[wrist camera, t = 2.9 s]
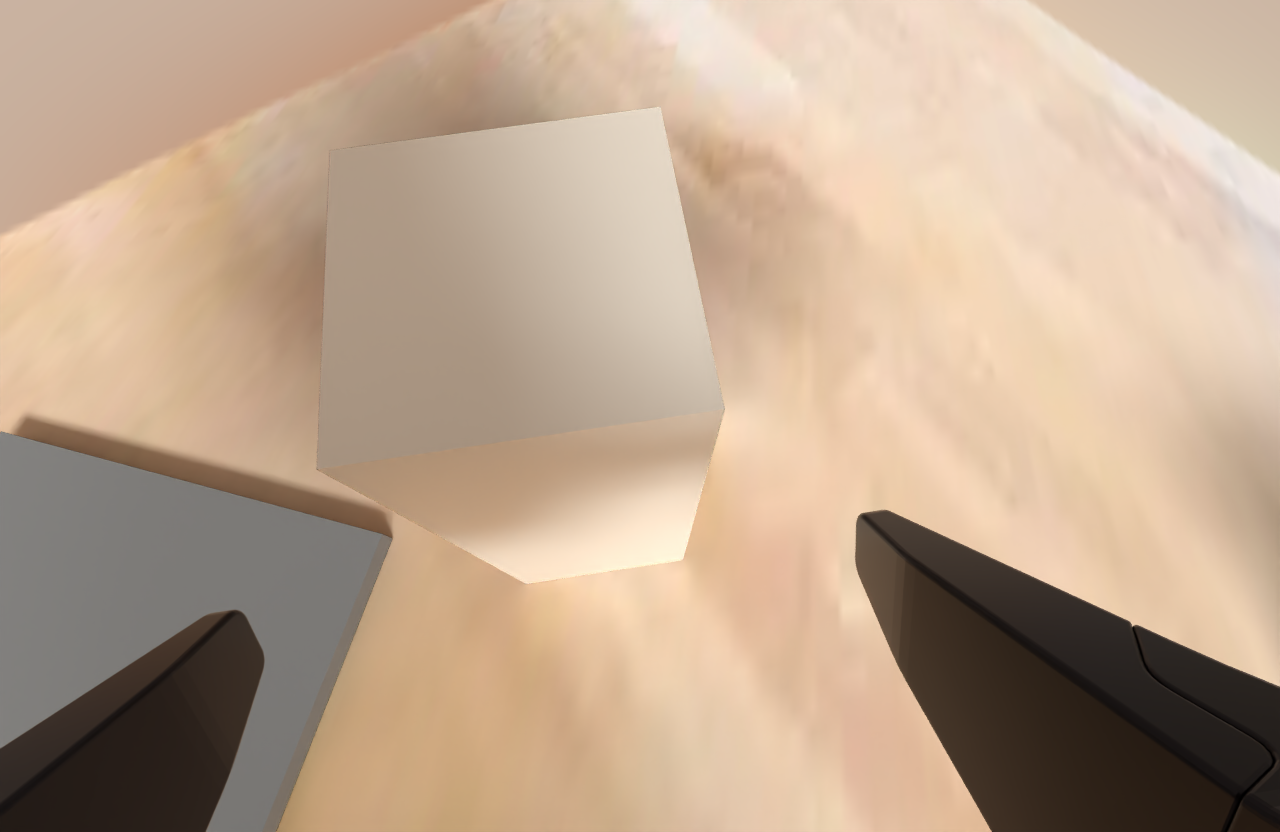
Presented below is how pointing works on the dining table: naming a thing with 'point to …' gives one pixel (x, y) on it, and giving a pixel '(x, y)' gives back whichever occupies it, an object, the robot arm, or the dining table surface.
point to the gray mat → (172, 599)
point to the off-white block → (520, 343)
